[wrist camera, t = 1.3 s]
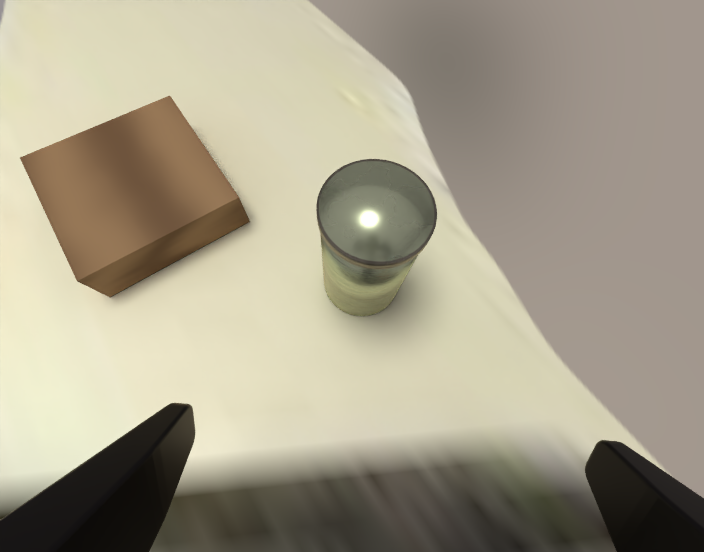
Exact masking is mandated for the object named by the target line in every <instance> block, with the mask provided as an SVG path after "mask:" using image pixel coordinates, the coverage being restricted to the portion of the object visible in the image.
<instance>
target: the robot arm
mask: <svg viewBox="0 0 704 552" xmlns="http://www.w3.org/2000/svg"><path fill="white" fill-rule="evenodd" d="M194 439H195V424H194V416H193V409H192V406H191V405H189V404H182V403H171V404H169V405H167V406H166V407H164V408H163V409H161V410H160V411H159V412H157V413H156V414H154V415H153V416H151V417H150V418H148V419H147V420H145V421H144V422H142V423H141V424H140V425H138V426H137V427H135V428H134V429H132V430H131V431H129V432H128V433H126V434H125V435H123V436H122V437H121V438H119V439H118V440H116V441H115V442H113V443H112V444H110V445H109V446H107V447H106V448H104V449H103V450H102V451H100V452H99V453H97V454H96V455H94V456H93V457H91V458H90V459H88V460H87V461H85V462H84V463H83V464H81V465H80V466H78V467H77V468H75V469H74V470H72V471H71V472H69V473H68V474H66V475H65V476H64V477H62V478H61V479H59V480H58V481H56V482H55V483H53V484H52V485H50V486H49V487H48V488H46V489H45V490H43V491H42V492H40V493H39V494H37V495H36V496H34V497H33V498H31V499H30V500H29V501H27V502H26V503H24V504H23V505H21V506H20V507H18V508H17V509H15V510H14V511H12V512H11V513H10V514H8V515H7V516H5V517H4V518H2V519H1V520H0V552H149V551H150V549H151V547H152V545H153V542H154V540H155V538H156V536H157V534H158V532H159V530H160V528H161V526H162V523H163V521H164V519H165V517H166V514H167V512H168V509H169V507H170V504H171V501H172V499H173V496H174V493H175V491H176V488H177V485H178V483H179V480H180V477H181V475H182V472H183V469H184V467H185V464H186V462H187V459H188V456H189V454H190V451H191V448H192V446H193V443H194ZM585 473H586V477H587V480H588V482H589V485H590V487H591V490H592V492H593V495H594V497H595V500H596V502H597V505H598V507H599V509H600V512H601V514H602V517H603V519H604V522H605V524H606V527H607V529H608V532H609V534H610V537H611V539H612V542H613V544H614V546H615V548H616V551H617V552H704V498H702V497H701V496H699V495H698V494H696V493H695V492H693V491H692V490H691V489H689V488H688V487H686V486H685V485H683V484H682V483H680V482H679V481H677V480H676V479H674V478H673V477H672V476H670V475H669V474H667V473H666V472H664V471H663V470H661V469H660V468H658V467H657V466H655V465H654V464H652V463H651V462H650V461H648V460H647V459H645V458H644V457H642V456H641V455H639V454H638V453H636V452H635V451H633V450H632V449H630V448H629V447H628V446H626V445H625V444H623V443H621V442H617V441H606V440H601V441H599V442H598V443H597V444H596V446H595V448H594V449H593V451H592V453H591V455H590V457H589V459H588V461H587V463H586V466H585Z"/></svg>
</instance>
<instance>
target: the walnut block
mask: <svg viewBox="0 0 704 552" xmlns="http://www.w3.org/2000/svg"><path fill="white" fill-rule="evenodd" d="M20 159H21V161H22V163H23V165H24V168H25V170H26V172H27V174H28V176H29V178H30V180H31V183H32V185H33V187H34V189H35V191H36V193H37V196H38V198H39V200H40V202H41V204H42V206H43V209H44V211H45V213H46V215H47V217H48V219H49V221H50V224H51V226H52V228H53V230H54V232H55V234H56V237H57V239H58V241H59V243H60V245H61V247H62V250H63V252H64V254H65V256H66V258H67V260H68V262H69V265H70V267H71V269H72V271H73V273H74V275H75V278H76V280H77V281H78V282H80V283H82V284H84V285H86V286H88V287H90V288H92V289H94V290H96V291H98V292H100V293H102V294H105V295H107V296H109V297H111V296H113V295H115V294H117V293H119V292H120V291H122V290H124V289H126V288H128V287H130V286H132V285H133V284H135V283H137V282H139V281H141V280H143V279H144V278H146V277H148V276H150V275H152V274H154V273H156V272H157V271H159V270H161V269H163V268H165V267H167V266H168V265H170V264H172V263H174V262H176V261H178V260H180V259H181V258H183V257H185V256H187V255H189V254H191V253H192V252H194V251H196V250H198V249H200V248H202V247H204V246H205V245H207V244H209V243H211V242H213V241H215V240H216V239H218V238H220V237H222V236H224V235H226V234H228V233H229V232H231V231H233V230H235V229H237V228H239V227H240V226H242V225H244V224H246V223H248V222H250V221H249V219H248V216H247V214H246V212H245V210H244V208H243V205H242V203H241V201H240V199H239V197H238V195H237V194H236V192H235V191H234V189H233V188H232V186H231V185H230V183H229V182H228V181H227V179H226V178H225V176H224V175H223V173H222V172H221V170H220V169H219V167H218V166H217V164H216V163H215V161H214V160H213V158H212V157H211V156H210V154H209V153H208V151H207V150H206V148H205V147H204V145H203V144H202V142H201V141H200V139H199V138H198V136H197V135H196V133H195V132H194V130H193V129H192V128H191V126H190V125H189V123H188V122H187V120H186V119H185V117H184V116H183V114H182V113H181V111H180V110H179V108H178V107H177V105H176V104H175V102H174V101H173V100H172V98H171V97H170V96H168V97H165V98H163V99H160V100H158V101H156V102H153V103H151V104H148V105H146V106H143V107H141V108H139V109H136V110H134V111H131V112H129V113H127V114H124V115H122V116H119V117H117V118H115V119H112V120H110V121H107V122H105V123H102V124H100V125H98V126H95V127H93V128H90V129H88V130H86V131H83V132H81V133H78V134H76V135H74V136H71V137H69V138H66V139H64V140H61V141H59V142H57V143H54V144H52V145H49V146H47V147H45V148H42V149H40V150H37V151H35V152H32V153H30V154H28V155H25V156H23V157H20Z"/></svg>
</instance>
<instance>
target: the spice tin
mask: <svg viewBox="0 0 704 552" xmlns="http://www.w3.org/2000/svg"><path fill="white" fill-rule="evenodd" d="M436 220H437V209H436V204H435V200H434V197H433V195H432V193H431V191H430V189H429V188H428V186H427V185H426V183H425V182H424V181H423V180H422V179H421V178H420V177H419V176H418V175H417V174H415V173H414V172H413V171H411V170H410V169H408V168H406V167H404V166H402V165H400V164H397V163H395V162H391V161H387V160H380V159H367V160H360V161H355V162H352V163H349V164H347V165H345V166H343V167H341V168H340V169H338V170H337V171H335V172H334V173H333V174H332V175H331V176H330V177H329V178H328V179H327V180H326V182H325V183H324V184H323V186H322V188H321V190H320V193H319V196H318V200H317V221H318V226H319V230H320V233H321V247H322V261H323V275H324V286H325V290H326V293H327V295H328V297H329V299H330V300H331V302H332V303H333V304H334V305H335V306H336V307H337V308H339V309H340V310H342V311H343V312H345V313H348V314H351V315H355V316H369V315H373V314H376V313H378V312H380V311H382V310H383V309H385V308H386V307H387V306H388V305H389V304H390V303H391V301H392V300H393V298H394V297H395V295H396V293H397V291H398V290H399V288H400V286H401V284H402V282H403V281H404V279H405V277H406V275H407V274H408V272H409V270H410V268H411V266H412V265H413V263H414V261H415V259H416V258H417V256H418V254H419V253H420V252H421V251H422V250H423V249H424V247H425V246H426V245H427V243H428V241H429V239H430V238H431V236H432V234H433V232H434V229H435V226H436Z"/></svg>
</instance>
